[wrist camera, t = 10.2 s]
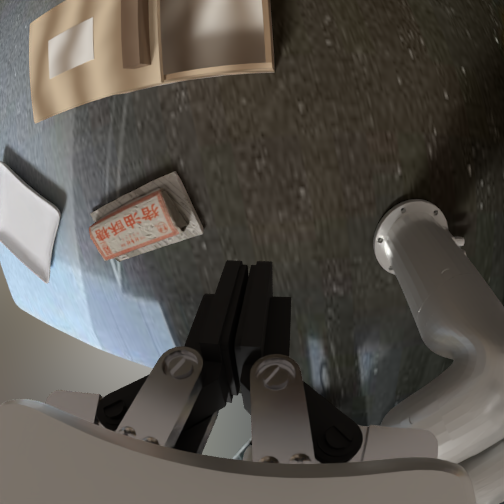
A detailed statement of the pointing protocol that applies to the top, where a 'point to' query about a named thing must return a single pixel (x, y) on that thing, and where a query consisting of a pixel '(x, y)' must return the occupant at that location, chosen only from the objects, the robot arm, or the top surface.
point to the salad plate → (27, 223)
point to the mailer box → (214, 39)
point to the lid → (93, 52)
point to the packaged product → (145, 219)
